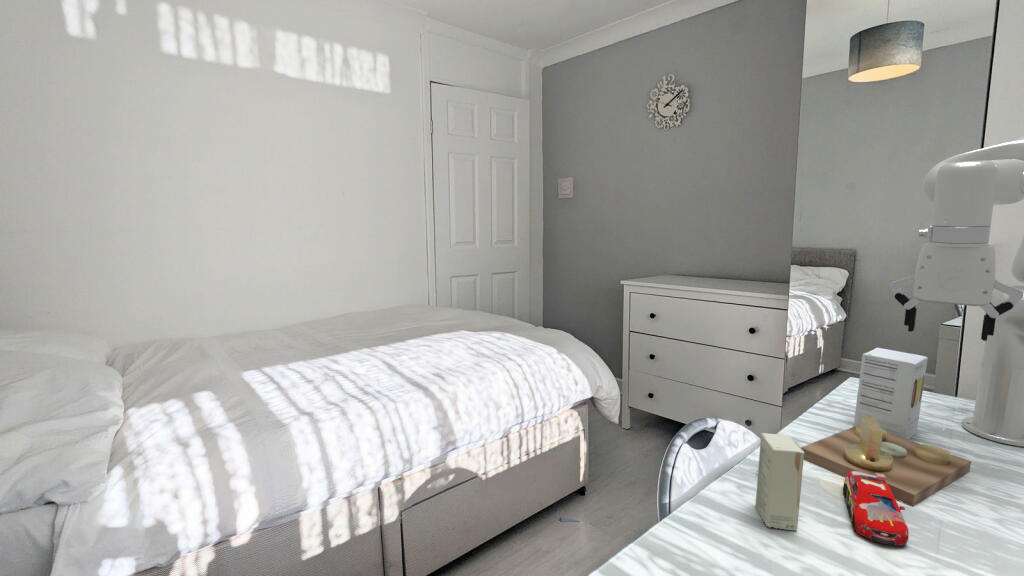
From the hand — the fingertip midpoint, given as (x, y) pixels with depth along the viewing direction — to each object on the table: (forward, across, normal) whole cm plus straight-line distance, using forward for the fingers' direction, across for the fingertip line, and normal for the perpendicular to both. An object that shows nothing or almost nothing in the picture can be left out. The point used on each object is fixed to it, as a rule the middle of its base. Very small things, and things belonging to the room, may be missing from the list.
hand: (946, 334), depth 86 cm
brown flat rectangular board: (+25, -6, -5) cm, 26 cm away
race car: (+24, -6, -26) cm, 36 cm away
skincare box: (+23, -16, -37) cm, 46 cm away
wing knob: (+22, -8, -11) cm, 26 cm away
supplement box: (+26, -8, +13) cm, 30 cm away
